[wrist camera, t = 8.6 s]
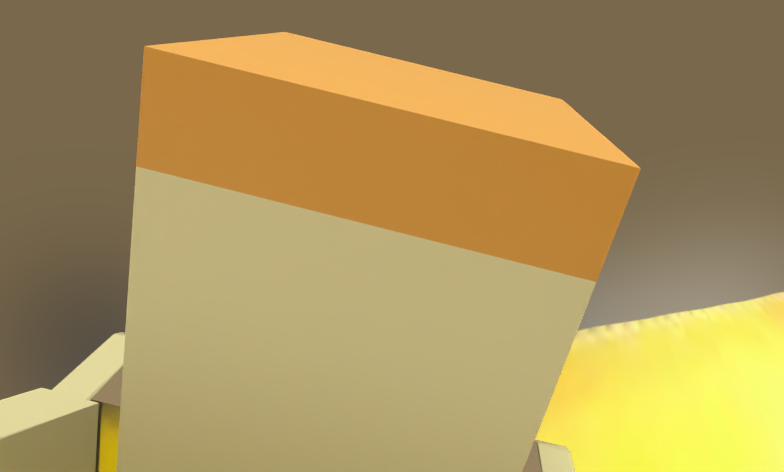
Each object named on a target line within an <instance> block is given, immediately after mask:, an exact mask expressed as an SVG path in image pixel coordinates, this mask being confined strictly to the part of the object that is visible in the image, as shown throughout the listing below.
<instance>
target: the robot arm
mask: <svg viewBox="0 0 784 472" xmlns="http://www.w3.org/2000/svg"><path fill="white" fill-rule="evenodd" d="M124 345H125V333H122V332H121V333H116V334H114V335H112V336H111V337H110V338H109V339H108V340H106V341H105V342H104V343H103V344H102V345H101V346H100V347H99V348H98V349H96V350H95V351H94V352H93V353H92V354H91V355H90V356H89V357H88V358H86V359H85V361H83V362H82V363H81V364H80V365H79V366H78V367H77V368H75V369H74V370H73V371H72V372H71V373H70V374H69V375H68V376H67V377H65V378H64V380H62V381H61V382H60V383H59V384H58V385H57V386H56V387H54V388H53V389H52V390H48V389H44V388H39V389H36V390H33V391H29V392H26V393H23V394H19V395H16V396H13V397H10V398H6V399H3V400H0V472H116V467H117V451H118V436H119V421H120V406H121V391H122V376H123V360H124ZM522 472H575V469H574V465H573V461H572V457H571V453H570V451H569V450H568V448H567V447H565V446H561V445H556V444H552V443H548V442H543V441H539V440H534V443H533V446H532V448H531V451H530V453H529V456H528V458H527V461H526V463H525V466H524V469H523V471H522Z"/></svg>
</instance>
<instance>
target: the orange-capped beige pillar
mask: <svg viewBox="0 0 784 472" xmlns="http://www.w3.org/2000/svg"><path fill="white" fill-rule="evenodd" d="M640 169H641V168H640V167H639V166H637V165H636V164H635V163H634V162H633V161H632V160H631V159H629V158H628V157H627V156H626V155H625V154H624V153H623V152H621V151H620V150H619V149H618V148H617V147H616V146H615V145H613V144H612V143H611V142H610V141H609V140H608V139H606V138H605V137H604V136H603V135H602V134H601V133H600V132H599V131H597V130H596V129H595V128H594V127H593V126H592V125H590V124H589V123H588V122H587V121H586V120H585V119H583V117H581V116H580V115H579V114H578V113H577V112H576V111H575V110H573V109H572V108H571V107H570V106H569V105H568V104H566V103H565V102H564V101H563V100H562V99H558V98H554V97H550V96H546V95H542V94H538V93H534V92H529V91H525V90H521V89H517V88H513V87H509V86H505V85H501V84H496V83H492V82H488V81H484V80H480V79H476V78H472V77H468V76H464V75H460V74H456V73H451V72H447V71H443V70H439V69H435V68H431V67H427V66H423V65H419V64H415V63H410V62H406V61H402V60H398V59H394V58H390V57H386V56H382V55H378V54H374V53H369V52H365V51H361V50H357V49H353V48H349V47H345V46H341V45H337V44H332V43H328V42H324V41H320V40H316V39H312V38H308V37H304V36H300V35H295V34H291V33H287V32H282V33H271V34H262V35H251V36H241V37H232V38H221V39H211V40H201V41H191V42H181V43H171V44H161V45H152V46H144V57H143V72H142V88H141V102H140V118H139V132H138V148H137V163H136V178H135V193H134V194H135V195H134V208H133V224H132V239H131V254H130V269H129V270H130V271H129V285H128V300H127V315H126V331H125V345H124V360H123V376H122V391H121V406H120V421H119V436H118V451H117V467H116V472H522V471H523V469H524V466H525V463H526V461H527V458H528V456H529V453H530V451H531V448H532V446H533V443H534V440H535V438H536V435H537V433H538V430H539V428H540V425H541V423H542V420H543V417H544V415H545V412H546V410H547V407H548V405H549V402H550V399H551V397H552V394H553V392H554V389H555V387H556V384H557V382H558V379H559V376H560V374H561V371H562V369H563V366H564V364H565V361H566V358H567V356H568V353H569V351H570V348H571V346H572V343H573V341H574V338H575V335H576V333H577V330H578V328H579V325H580V322H581V320H582V318H583V315H584V312H585V310H586V307H587V305H588V302H589V299H590V297H591V294H592V292H593V289H594V287H595V284H596V282H597V279H598V277H599V274H600V271H601V269H602V266H603V263H604V261H605V259H606V256H607V254H608V251H609V248H610V246H611V243H612V241H613V238H614V235H615V233H616V230H617V228H618V225H619V223H620V220H621V218H622V215H623V212H624V210H625V207H626V204H627V202H628V200H629V197H630V194H631V192H632V189H633V187H634V184H635V181H636V179H637V177H638V174H639V171H640Z"/></svg>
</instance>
